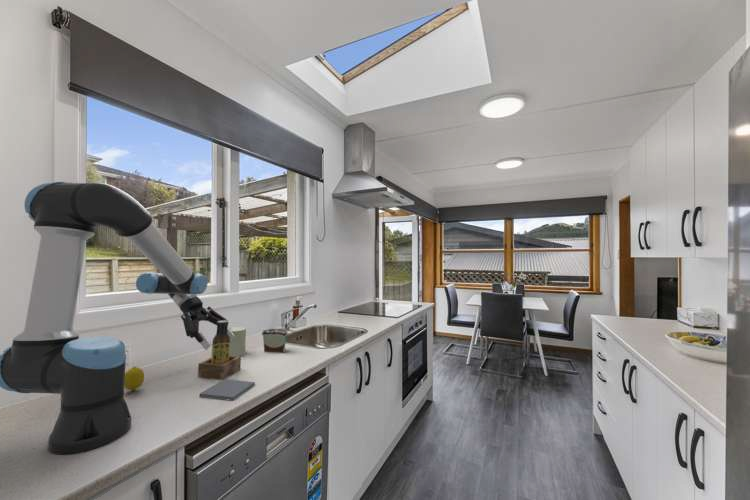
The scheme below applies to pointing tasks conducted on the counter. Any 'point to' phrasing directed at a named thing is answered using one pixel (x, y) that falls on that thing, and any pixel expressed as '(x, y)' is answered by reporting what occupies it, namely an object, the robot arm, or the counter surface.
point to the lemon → (133, 378)
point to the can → (238, 341)
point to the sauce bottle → (221, 344)
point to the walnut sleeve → (219, 368)
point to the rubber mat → (227, 389)
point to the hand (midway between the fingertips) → (221, 342)
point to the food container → (274, 340)
